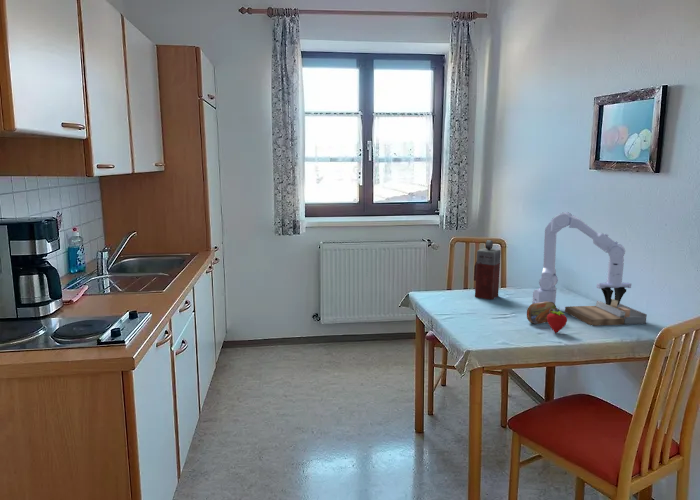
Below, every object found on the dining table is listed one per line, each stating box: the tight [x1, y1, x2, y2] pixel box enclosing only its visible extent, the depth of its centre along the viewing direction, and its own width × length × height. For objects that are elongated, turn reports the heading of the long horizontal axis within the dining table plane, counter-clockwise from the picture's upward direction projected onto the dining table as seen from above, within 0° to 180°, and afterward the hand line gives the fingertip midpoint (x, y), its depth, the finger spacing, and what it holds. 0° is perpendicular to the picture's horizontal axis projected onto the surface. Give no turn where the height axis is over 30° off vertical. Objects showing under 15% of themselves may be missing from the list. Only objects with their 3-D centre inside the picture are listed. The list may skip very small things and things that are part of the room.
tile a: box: [618, 307, 630, 318], centre depth 224 cm, size 4×4×2 cm
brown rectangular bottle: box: [473, 239, 502, 301], centre depth 261 cm, size 9×11×28 cm
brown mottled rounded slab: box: [526, 301, 558, 325], centre depth 220 cm, size 15×3×8 cm, turn 117°
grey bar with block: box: [595, 298, 626, 318], centre depth 227 cm, size 3×17×6 cm, turn 8°
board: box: [564, 305, 625, 326], centre depth 227 cm, size 14×20×2 cm
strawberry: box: [547, 310, 568, 334], centre depth 206 cm, size 6×8×10 cm
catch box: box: [616, 302, 648, 325], centre depth 228 cm, size 10×20×4 cm, turn 8°
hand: (612, 304), depth 227 cm, fingers closed on grey bar with block, 3 cm apart
